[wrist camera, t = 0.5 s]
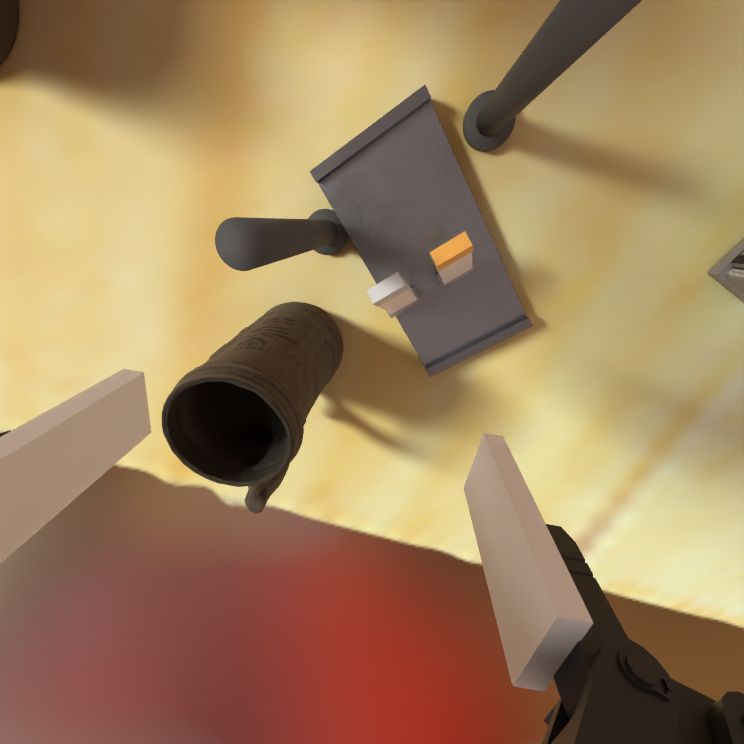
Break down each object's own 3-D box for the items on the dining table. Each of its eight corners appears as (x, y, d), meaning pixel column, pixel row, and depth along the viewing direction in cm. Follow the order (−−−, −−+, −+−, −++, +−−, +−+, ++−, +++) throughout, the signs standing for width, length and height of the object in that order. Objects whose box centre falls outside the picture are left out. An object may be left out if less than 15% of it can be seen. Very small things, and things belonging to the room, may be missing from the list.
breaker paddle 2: (436, 277, 36) (425, 252, 28) (468, 258, 35) (467, 227, 27) (443, 290, 35) (434, 269, 28) (476, 271, 35) (476, 245, 27)
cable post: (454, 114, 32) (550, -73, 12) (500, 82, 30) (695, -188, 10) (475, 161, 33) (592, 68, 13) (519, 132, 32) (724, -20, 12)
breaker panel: (316, 175, 34) (309, 171, 32) (423, 95, 31) (425, 84, 29) (428, 367, 42) (429, 376, 39) (523, 318, 39) (532, 325, 36)
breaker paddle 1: (386, 305, 37) (363, 290, 29) (415, 288, 36) (399, 268, 28) (393, 318, 37) (371, 306, 29) (422, 302, 36) (408, 285, 28)
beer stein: (242, 303, 40) (121, 389, 23) (330, 287, 39) (274, 366, 21) (282, 411, 47) (213, 542, 29) (358, 401, 46) (334, 533, 28)
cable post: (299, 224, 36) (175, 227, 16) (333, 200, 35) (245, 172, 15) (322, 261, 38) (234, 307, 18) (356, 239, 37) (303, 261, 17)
